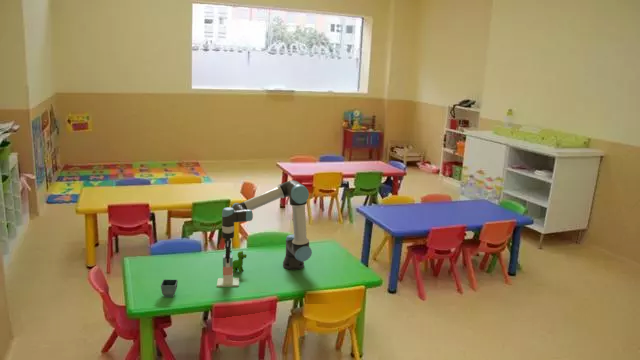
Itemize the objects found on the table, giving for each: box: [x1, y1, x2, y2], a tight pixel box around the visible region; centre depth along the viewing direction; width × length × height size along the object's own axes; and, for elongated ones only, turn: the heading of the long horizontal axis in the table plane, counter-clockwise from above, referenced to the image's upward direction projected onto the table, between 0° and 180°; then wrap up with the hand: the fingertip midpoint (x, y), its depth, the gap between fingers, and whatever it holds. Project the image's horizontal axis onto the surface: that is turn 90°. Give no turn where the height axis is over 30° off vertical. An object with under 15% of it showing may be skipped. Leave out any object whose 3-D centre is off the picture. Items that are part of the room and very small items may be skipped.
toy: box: [233, 250, 248, 274], centre depth 369 cm, size 6×14×15 cm, turn 78°
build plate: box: [216, 272, 240, 288], centre depth 352 cm, size 14×11×7 cm
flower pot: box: [160, 278, 179, 298], centre depth 331 cm, size 9×9×9 cm
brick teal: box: [222, 253, 234, 268], centre depth 348 cm, size 6×6×6 cm
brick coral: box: [222, 265, 234, 276], centre depth 350 cm, size 6×6×6 cm
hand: (228, 264), depth 349 cm, fingers open, 7 cm apart
